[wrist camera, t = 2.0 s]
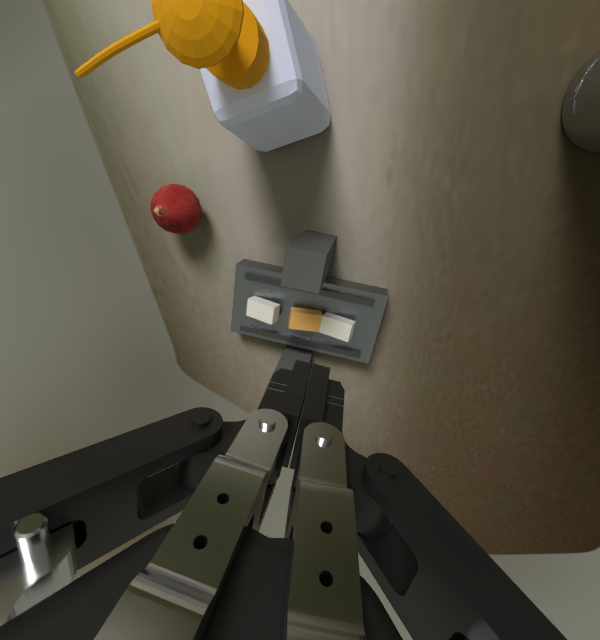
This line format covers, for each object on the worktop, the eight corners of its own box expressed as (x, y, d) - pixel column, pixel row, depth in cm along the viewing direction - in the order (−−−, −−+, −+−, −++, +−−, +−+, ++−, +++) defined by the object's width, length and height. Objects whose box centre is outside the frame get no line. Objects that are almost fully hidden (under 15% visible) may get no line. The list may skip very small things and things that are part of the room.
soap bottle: (199, 80, 38) (10, -36, 18) (313, 29, 34) (237, -191, 14) (227, 167, 41) (94, 153, 21) (334, 129, 37) (298, 67, 17)
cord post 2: (313, 349, 49) (298, 397, 38) (308, 371, 50) (293, 423, 40) (287, 343, 49) (265, 389, 38) (284, 365, 51) (262, 415, 40)
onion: (216, 224, 44) (187, 233, 37) (180, 233, 46) (145, 242, 38) (203, 179, 42) (169, 178, 35) (165, 189, 44) (125, 191, 36)
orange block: (320, 310, 43) (322, 315, 41) (317, 326, 44) (319, 332, 42) (290, 306, 42) (291, 311, 41) (288, 323, 43) (288, 328, 42)
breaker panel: (387, 289, 43) (388, 297, 40) (368, 353, 47) (368, 366, 44) (244, 258, 45) (234, 264, 42) (238, 322, 49) (229, 332, 46)
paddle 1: (280, 304, 42) (274, 307, 41) (277, 320, 43) (271, 324, 42) (254, 295, 44) (247, 298, 42) (252, 311, 45) (246, 315, 43)
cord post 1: (336, 236, 42) (326, 254, 31) (330, 266, 43) (318, 294, 33) (306, 230, 42) (286, 246, 31) (301, 260, 44) (280, 285, 33)
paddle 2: (355, 321, 41) (352, 325, 40) (351, 337, 42) (347, 342, 41) (327, 311, 43) (322, 315, 41) (323, 327, 44) (319, 332, 42)
